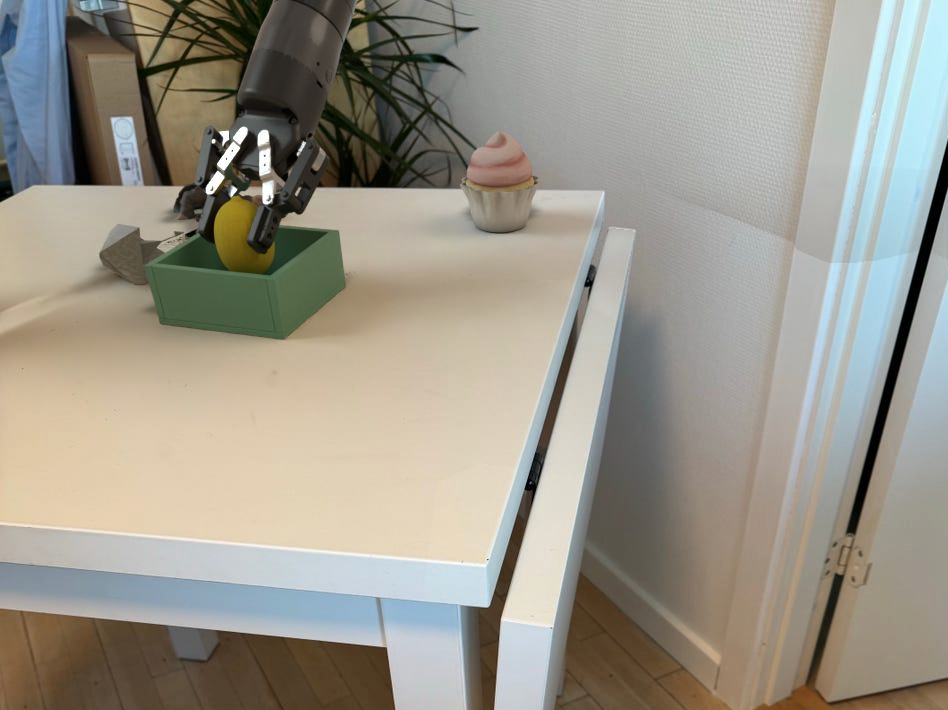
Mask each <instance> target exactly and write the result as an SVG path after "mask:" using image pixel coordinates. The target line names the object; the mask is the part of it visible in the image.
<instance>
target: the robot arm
mask: <svg viewBox="0 0 948 710" xmlns="http://www.w3.org/2000/svg"><path fill="white" fill-rule="evenodd" d="M357 3H358V0H272V3H271V5H270V8H269V10H268V12H267V15H266V17H265V18H264V20H263V22H262V24H261V26H260V28H259V31H258V34H257V37H256V40H255V42H254V45H253V49H252V52H251V54H250V57H249V60H248V62H247V66H246V69H245V72H244V74H243V78H242V80H241V83H240V86H239V89H238V93H237V95H236V100H237V107H238V115H237V118H236V119H235V120H234V122H233V123H232V124H231V126H230V127H229V130H220V131H218V130H217V129H216V128H215V127H214V126H213V125H207V126H206V127H205V129H204V131H203V135H202V139H201V146H200V149H199V150H200V151H199V155H198V159H197V165H196V170H195V175H194V180H193V181H194V182H195V184H196V185H197V186H198V187H199V188H200V189H201V190H203V191H204V192H205V193H206V194H207V200H206V203H205V206H204V208H203V210H202V212H201V214H200V215H201V218H200V220H199V222H197V229H199V230H198V232H199V235H200V236H201V237H203V238H204V239H205V240H206V241H208V242H209V243H213V244H215V238H214V223H215V218H216V215H217V213H218V211H219V210H220V208H221V207H222V206H223V205H224V204H225V203H227V202H229V201H231V199H232V197H233V196H238V194H241V193H242V192H246V191H248V190H249V188H250V187H251V185H252V184H253V183H254V182H259V181H260V182H261V183H262V196H263V203H264V206H261V205H259V207H258V210H257V212H256V215H255V218H254V221H253V224H252V227H251V230H250V233H249V236H248V238H247V243H248V245H249V246H250V247H251V248H252V249H253V250H254V251H256V252H257V253H260V254H266V253H267V251H268V249H270V247H271V246H272V245H273V242H274V239H275V236H276V233H277V231H278V228H279V225H281V222H282V219H285V218H286V217H287V216H288V215H289V214H292V213H294V214H296V215H297V216H300V215H302V214H304V212H305V211H306V209H307V207H308V205H309V203H310V201H311V199H312V198H313V195H314V193H315V191H316V189H317V188H318V186H319V184H320V182H321V180H322V178H323V176H324V174H325V172H326V170H327V168H328V166H329V165H330V162H331V159H330V156H329V155H328V154H327V153H326V152H325V151H324V149H323V148H322V147H321V146H320V145H319V144H318V143H317V142H316V141H315V140H314V136H315V134H316V131H317V129H318V126H319V123H320V120H321V117H322V115H323V111H324V109H325V106H326V103H327V101H328V97H329V94H330V92H331V89H332V86H333V83H334V80H335V77H336V74H337V71H338V66H339V63H340V57H341V52H342V49H343V46H344V43H345V40H346V37H347V35H348V32H349V28H350V26H351V23H352V20H353V17H354V14H355V11H356V6H357ZM234 167H235V168H236V169H237V170H238V171H239V172H240V173H241V174H240V175H238V174H236V173H235V172H234V169H233V168H234ZM209 171H210V172H211V178H210V179H208V176H209ZM228 181H230V182H229V185H228V186H226V187H227V189H226V190H225V191H223V190H222V187H223V186H225V184H226V183H227V182H228ZM299 188H300V189H299ZM298 189H299V191H298ZM297 191H298V193H297ZM296 194H297V195H296Z"/></svg>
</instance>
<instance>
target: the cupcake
mask: <svg viewBox="0 0 948 710" xmlns="http://www.w3.org/2000/svg"><path fill="white" fill-rule="evenodd" d="M539 180H540V176H538V175H533V165H532V162H531V159H530V158H529V156H528V155H527V154H526V153H525V152H524V151H523V149H522V147H521V145H520V143H518V141H517V140H516V139H514V137H512V136H511V135H510V134H508V133H506V132H504V131H501V130H498V131H496V132H495V133H494V134H493V135H492V136H491V137H490V138H489V139H488V140H487V141H486V143H485V144H484V145H483V146H480V147H477V149H475V150H474V152H473V153H472V155H471V158H470V162H469V164H468V167H467V170H466V176H465V177H463V178H461V181H462V182H461V183H460V184H459V187H460V188H461V190H462V192H463V194H464V197H466V200H467V202H468V206H469V210H470V214H471V218H472V222H473V224H474V226H475V228H477V229H479V230H481V231H484V232H490V233H508V232H509V233H510V232H514V231H517V230H521V229H523V228H524V227H525V226H527V223H528V221H529V217H530V212H531V209H532V208H531V207H532V203H533V199H534V197H535V194H536V193H537V190H538V188H539V186H540V184H541V183H540V182H539Z"/></svg>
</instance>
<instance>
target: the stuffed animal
mask: <svg viewBox="0 0 948 710" xmlns="http://www.w3.org/2000/svg"><path fill="white" fill-rule="evenodd" d="M210 178H211V172H210V171H209V176H208V179H210ZM227 187H228V186H227V185H226V186H225V185H224V186H223V187H222V190H223V191H225V190H226V189H227ZM238 196H240V197H241V198H242V199H244V200H247V201H250V202H252V203H254V204H255V205H257V206H258V207H259V205H261V206H264V203H263V194H256V195H250V194H246V195H242V194H241V193H239V194H238ZM206 200H207V194H206V193H205V192H204V191H203V190H201V189H200V188H199V187H198V186H197V185H196V184H195V182H192V183H188V184H185V185H184V186H183V187H182V188H181V189H180V190H179V192H178V195H177V197H176V198H175V202H174V203H173V213H175V214H178V215H177V216H176V217H174V220H176V221H188V220H191V219H195V222H196V223H199V220H200V218H201V214H200V215H198V216H196V215H195V211H196V210H202V211H203V208H204V206H205V203H206ZM195 216H196V217H195ZM198 230H199V229H198V228H196V229H193V230H191V231H188V232H186V233H183V236H185V237H187V239H189V238H191V237H192V236H194V235H196V234H197V233H199V232H198Z"/></svg>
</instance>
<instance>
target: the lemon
mask: <svg viewBox="0 0 948 710" xmlns="http://www.w3.org/2000/svg"><path fill="white" fill-rule="evenodd" d="M257 210H258V206H257V205H255V204H254V203H252V202H250V201H247V200H244V199H242V198H241V197H240V196H233V197H232V199H231V201H229V202H227V203H225V204H224V205H223V206H222V207H221V208H220V210H219V211H218V213H217V215H216V218H215V223H214V238H215V244H216V248H217V251H218V254H219V256H220V259H221V261H222V262H223V264H224V265H225V266H226V268H227V269H228V270H229V271H232V272H241V273H250V274H260V275H262V274H264V273H265V272H266V271H267V270H268V269H269V267H270V266H271V264H272V262H273V259H274V252H275V245H274V242H273V245H272V246H271V247H270V249H268V251H267V253H266V254H260V253H257V252H256V251H254V250H253V249H252V248H251V247H250V246H249V245H248V243H247V238H248V236H249V233H250V230H251V227H252V224H253V221H254V218H255V215H256V212H257Z"/></svg>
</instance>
